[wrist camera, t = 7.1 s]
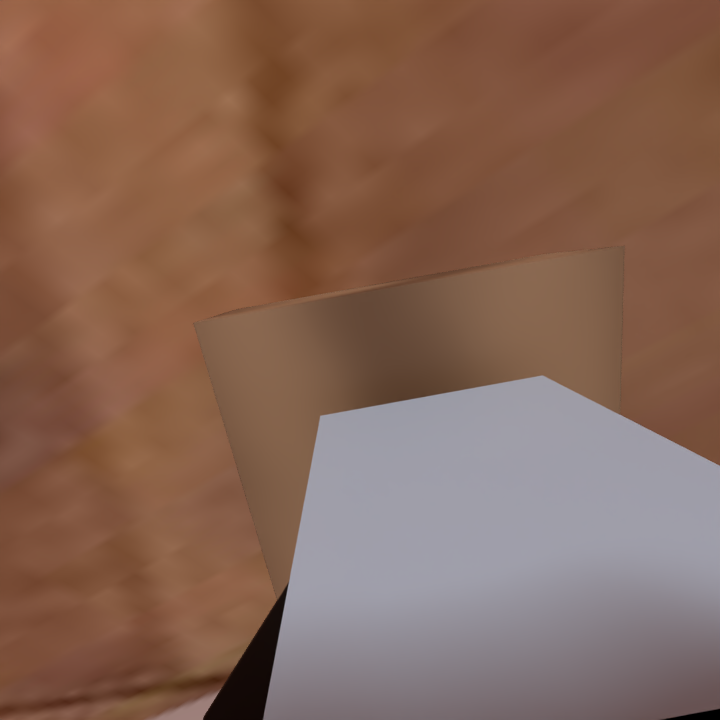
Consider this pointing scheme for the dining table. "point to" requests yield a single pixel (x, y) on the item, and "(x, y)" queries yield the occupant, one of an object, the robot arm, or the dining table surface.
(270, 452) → the wooden block
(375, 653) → the white cube
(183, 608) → the dining table surface
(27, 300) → the dining table surface
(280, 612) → the robot arm
